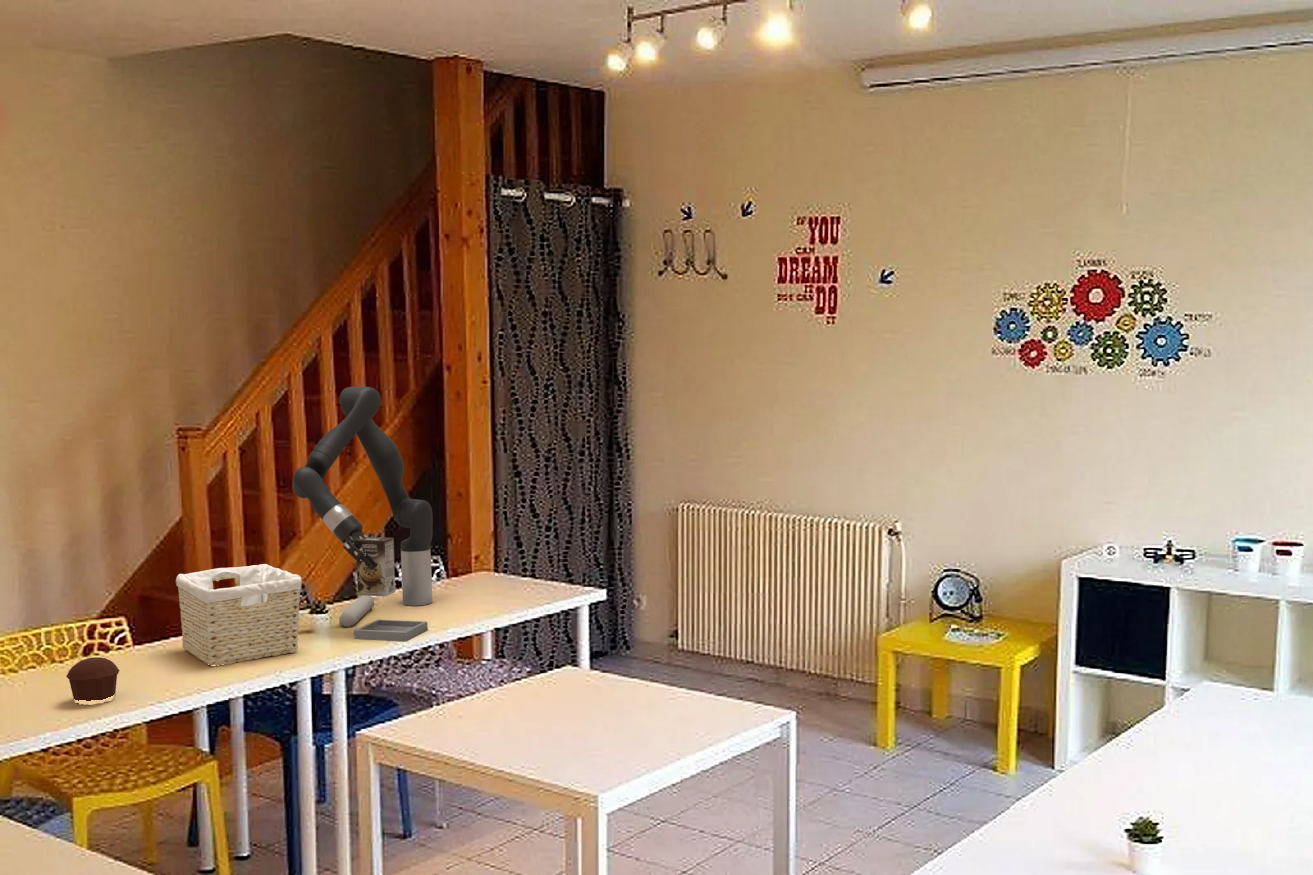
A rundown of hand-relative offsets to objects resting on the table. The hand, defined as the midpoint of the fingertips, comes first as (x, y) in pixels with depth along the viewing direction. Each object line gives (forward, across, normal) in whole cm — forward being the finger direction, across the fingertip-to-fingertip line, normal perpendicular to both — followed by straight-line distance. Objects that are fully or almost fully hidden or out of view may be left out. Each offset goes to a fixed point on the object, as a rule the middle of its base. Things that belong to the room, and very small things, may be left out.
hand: (380, 565), depth 375 cm
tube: (+2, +16, +27) cm, 32 cm away
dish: (+16, 0, +12) cm, 20 cm away
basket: (-6, -28, +34) cm, 44 cm away
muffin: (-11, -77, +38) cm, 87 cm away
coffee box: (+5, 0, +7) cm, 9 cm away
